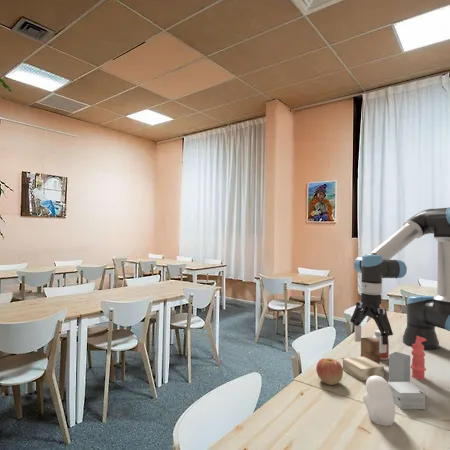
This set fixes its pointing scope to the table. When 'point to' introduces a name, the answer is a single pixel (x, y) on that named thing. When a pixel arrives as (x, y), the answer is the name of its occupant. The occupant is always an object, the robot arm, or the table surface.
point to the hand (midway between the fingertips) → (369, 346)
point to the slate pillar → (399, 367)
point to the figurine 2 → (418, 359)
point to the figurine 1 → (379, 401)
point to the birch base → (362, 367)
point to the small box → (407, 395)
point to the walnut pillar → (370, 349)
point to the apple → (329, 371)
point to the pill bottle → (386, 355)
